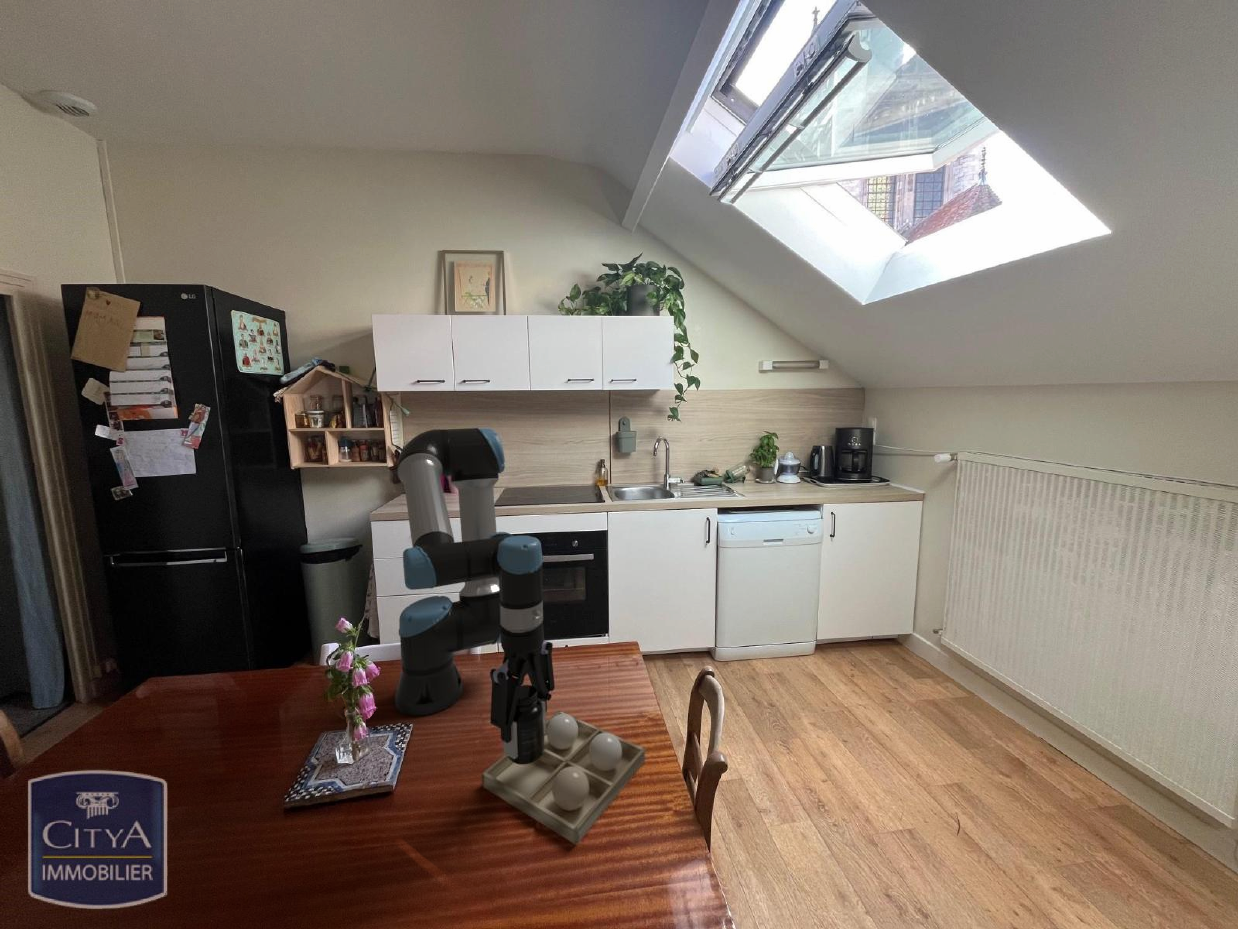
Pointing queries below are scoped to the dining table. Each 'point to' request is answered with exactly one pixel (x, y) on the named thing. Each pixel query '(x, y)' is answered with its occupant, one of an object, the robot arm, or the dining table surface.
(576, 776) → the egg
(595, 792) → the crate
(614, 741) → the egg
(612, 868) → the dining table surface
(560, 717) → the egg
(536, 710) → the supplement bottle
